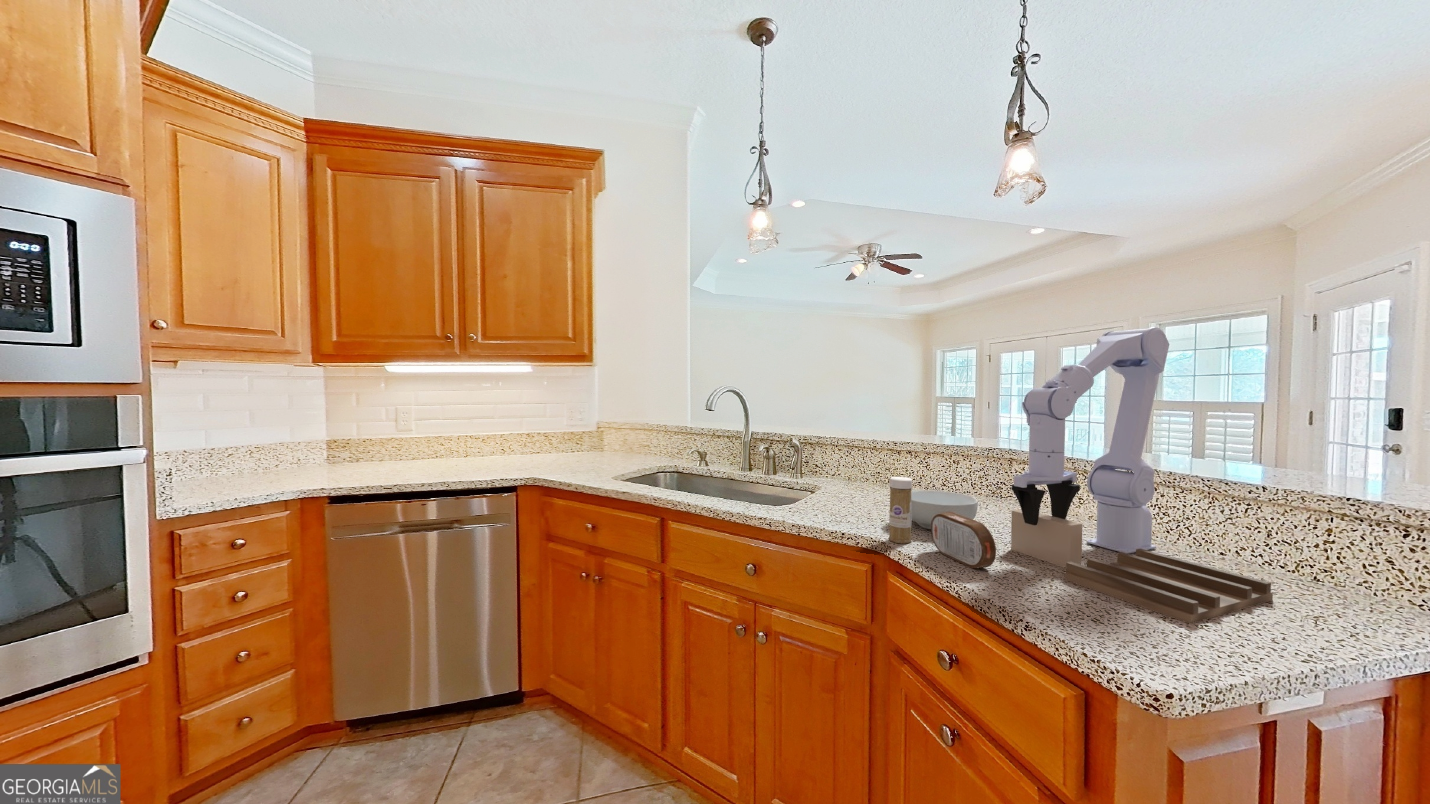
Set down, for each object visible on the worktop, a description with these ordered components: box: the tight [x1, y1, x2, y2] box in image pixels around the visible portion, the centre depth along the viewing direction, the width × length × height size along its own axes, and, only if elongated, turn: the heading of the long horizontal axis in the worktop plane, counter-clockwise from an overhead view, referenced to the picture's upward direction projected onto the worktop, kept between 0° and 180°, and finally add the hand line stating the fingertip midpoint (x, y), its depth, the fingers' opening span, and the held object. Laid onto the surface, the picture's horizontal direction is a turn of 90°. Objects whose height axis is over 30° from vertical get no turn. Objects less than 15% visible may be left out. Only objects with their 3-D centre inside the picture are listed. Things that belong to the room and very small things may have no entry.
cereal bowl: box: [911, 489, 979, 530], centre depth 124 cm, size 17×17×7 cm
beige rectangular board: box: [1010, 508, 1083, 568], centre depth 102 cm, size 3×12×8 cm, turn 22°
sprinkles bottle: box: [888, 476, 913, 545], centre depth 112 cm, size 5×5×14 cm
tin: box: [930, 512, 997, 569], centre depth 100 cm, size 15×3×8 cm, turn 14°
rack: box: [1063, 549, 1274, 625], centre depth 86 cm, size 21×18×3 cm
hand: (1044, 522), depth 101 cm, fingers open, 7 cm apart
